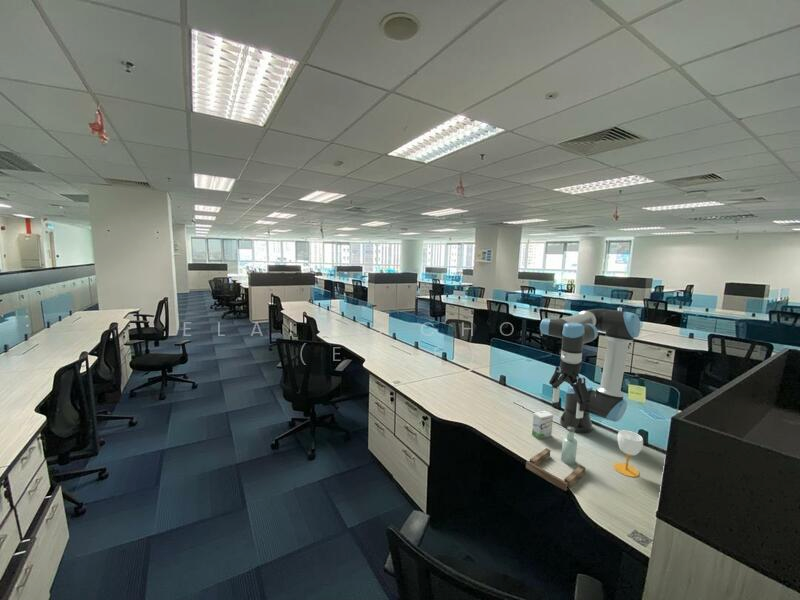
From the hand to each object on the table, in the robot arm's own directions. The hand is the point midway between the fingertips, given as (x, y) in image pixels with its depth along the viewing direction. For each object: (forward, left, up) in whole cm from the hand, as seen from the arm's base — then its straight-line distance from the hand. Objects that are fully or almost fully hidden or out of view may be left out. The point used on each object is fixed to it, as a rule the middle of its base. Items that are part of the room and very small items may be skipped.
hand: (566, 409), depth 134 cm
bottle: (-8, -1, -27) cm, 29 cm away
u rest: (+3, -1, -27) cm, 27 cm away
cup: (-22, +17, -28) cm, 39 cm away
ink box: (-18, -19, -28) cm, 38 cm away
